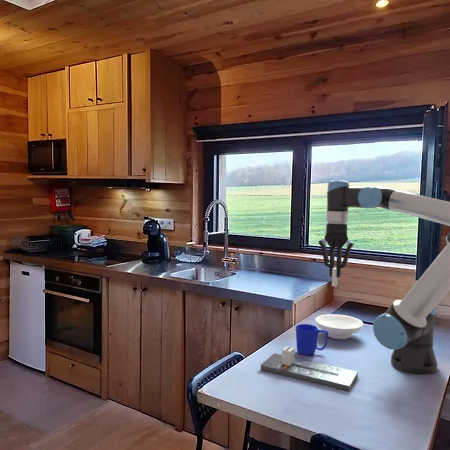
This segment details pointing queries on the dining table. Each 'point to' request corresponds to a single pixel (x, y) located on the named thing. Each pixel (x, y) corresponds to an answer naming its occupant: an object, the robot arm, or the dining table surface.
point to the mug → (308, 339)
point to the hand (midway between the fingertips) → (334, 285)
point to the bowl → (339, 325)
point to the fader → (288, 355)
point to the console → (312, 372)
